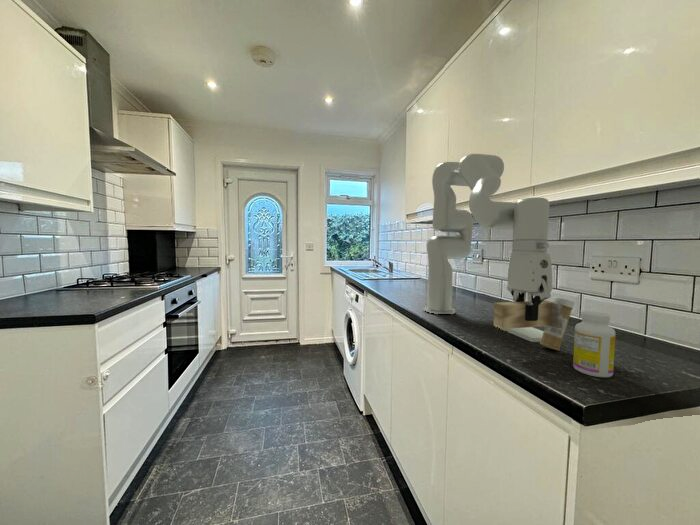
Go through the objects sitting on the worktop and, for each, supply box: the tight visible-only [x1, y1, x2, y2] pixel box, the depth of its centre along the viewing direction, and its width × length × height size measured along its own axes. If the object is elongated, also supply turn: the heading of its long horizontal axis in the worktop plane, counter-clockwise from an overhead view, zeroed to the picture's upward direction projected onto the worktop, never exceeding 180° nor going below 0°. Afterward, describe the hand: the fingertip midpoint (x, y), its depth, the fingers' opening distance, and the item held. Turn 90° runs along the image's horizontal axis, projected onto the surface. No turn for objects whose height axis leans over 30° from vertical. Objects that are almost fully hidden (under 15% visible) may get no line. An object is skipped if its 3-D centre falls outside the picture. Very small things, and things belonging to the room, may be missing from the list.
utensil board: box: [495, 326, 544, 343], centre depth 89 cm, size 16×9×1 cm, turn 9°
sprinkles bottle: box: [539, 296, 575, 351], centre depth 74 cm, size 5×5×13 cm
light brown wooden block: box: [493, 299, 563, 330], centre depth 72 cm, size 15×7×6 cm, turn 99°
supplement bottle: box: [572, 310, 616, 378], centre depth 61 cm, size 7×7×13 cm
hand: (525, 318), depth 73 cm, fingers closed on light brown wooden block, 3 cm apart
